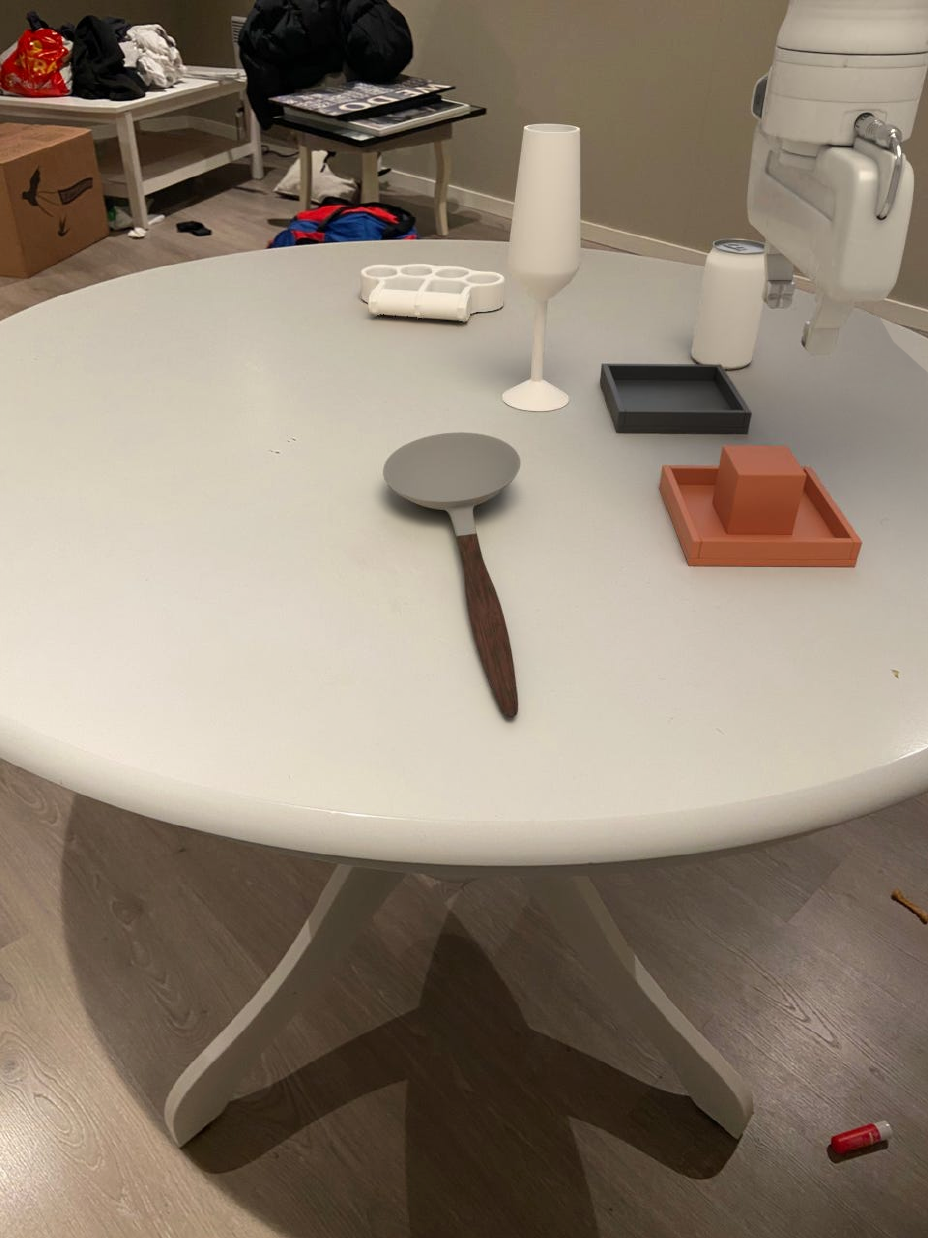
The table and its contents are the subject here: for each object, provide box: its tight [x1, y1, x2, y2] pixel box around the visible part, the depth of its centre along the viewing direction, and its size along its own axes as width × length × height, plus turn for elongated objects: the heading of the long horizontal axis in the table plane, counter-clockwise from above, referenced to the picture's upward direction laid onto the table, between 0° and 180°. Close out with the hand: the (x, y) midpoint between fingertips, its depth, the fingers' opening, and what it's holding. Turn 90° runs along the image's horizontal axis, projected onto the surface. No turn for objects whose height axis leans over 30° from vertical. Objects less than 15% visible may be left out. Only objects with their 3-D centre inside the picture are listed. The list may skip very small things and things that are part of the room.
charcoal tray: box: [599, 362, 753, 435], centre depth 92 cm, size 12×12×2 cm
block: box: [712, 444, 807, 534], centre depth 73 cm, size 5×5×5 cm
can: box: [691, 238, 765, 371], centre depth 100 cm, size 6×6×12 cm
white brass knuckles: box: [359, 263, 506, 323], centre depth 117 cm, size 3×18×15 cm
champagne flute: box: [501, 123, 582, 412], centre depth 88 cm, size 7×7×24 cm
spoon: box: [382, 431, 521, 718], centre depth 68 cm, size 11×33×3 cm, turn 8°
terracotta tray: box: [658, 464, 863, 568], centre depth 74 cm, size 12×12×2 cm
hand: (794, 327), depth 66 cm, fingers open, 8 cm apart
